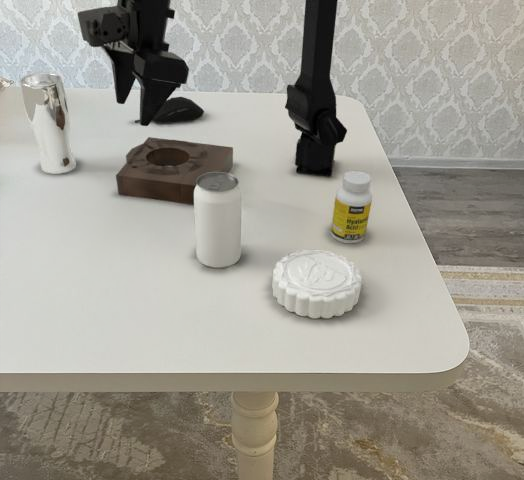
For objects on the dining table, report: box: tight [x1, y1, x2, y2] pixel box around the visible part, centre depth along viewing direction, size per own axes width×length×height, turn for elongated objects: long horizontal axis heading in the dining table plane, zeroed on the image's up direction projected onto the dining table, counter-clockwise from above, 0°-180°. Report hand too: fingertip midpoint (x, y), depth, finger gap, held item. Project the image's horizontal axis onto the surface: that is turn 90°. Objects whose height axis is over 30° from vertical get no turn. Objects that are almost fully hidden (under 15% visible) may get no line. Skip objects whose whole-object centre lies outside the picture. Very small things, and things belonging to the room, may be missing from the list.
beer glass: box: [19, 72, 77, 175], centre depth 101 cm, size 7×7×15 cm
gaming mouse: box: [134, 96, 205, 125], centre depth 123 cm, size 6×15×4 cm, turn 113°
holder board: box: [115, 136, 234, 206], centre depth 103 cm, size 17×16×4 cm
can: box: [193, 172, 242, 269], centre depth 83 cm, size 6×6×12 cm
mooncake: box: [271, 249, 363, 319], centre depth 80 cm, size 12×12×4 cm
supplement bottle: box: [330, 170, 373, 244], centre depth 89 cm, size 5×5×10 cm
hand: (131, 114), depth 86 cm, fingers open, 9 cm apart
